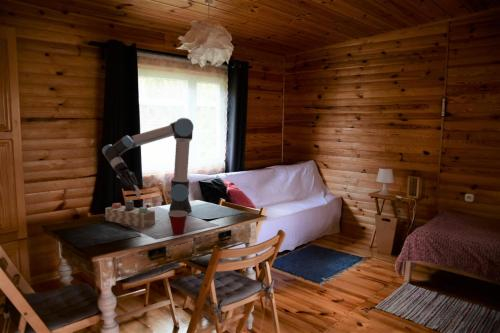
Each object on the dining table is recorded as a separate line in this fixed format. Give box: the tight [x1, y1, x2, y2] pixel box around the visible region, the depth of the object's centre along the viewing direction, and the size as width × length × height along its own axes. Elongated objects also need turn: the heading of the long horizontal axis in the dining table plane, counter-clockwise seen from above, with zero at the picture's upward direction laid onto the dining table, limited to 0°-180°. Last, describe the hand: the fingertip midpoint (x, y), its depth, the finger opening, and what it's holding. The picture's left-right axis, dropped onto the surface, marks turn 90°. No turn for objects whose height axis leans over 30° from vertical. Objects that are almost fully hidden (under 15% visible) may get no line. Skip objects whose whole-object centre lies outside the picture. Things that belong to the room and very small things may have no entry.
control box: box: [105, 205, 156, 228], centre depth 232 cm, size 33×10×8 cm, turn 59°
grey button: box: [124, 200, 135, 210], centre depth 231 cm, size 5×5×5 cm
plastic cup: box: [167, 210, 189, 236], centre depth 206 cm, size 11×11×12 cm
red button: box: [111, 202, 122, 209], centre depth 237 cm, size 5×5×5 cm
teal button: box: [138, 206, 149, 213], centre depth 225 cm, size 5×5×5 cm
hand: (139, 194), depth 225 cm, fingers closed
